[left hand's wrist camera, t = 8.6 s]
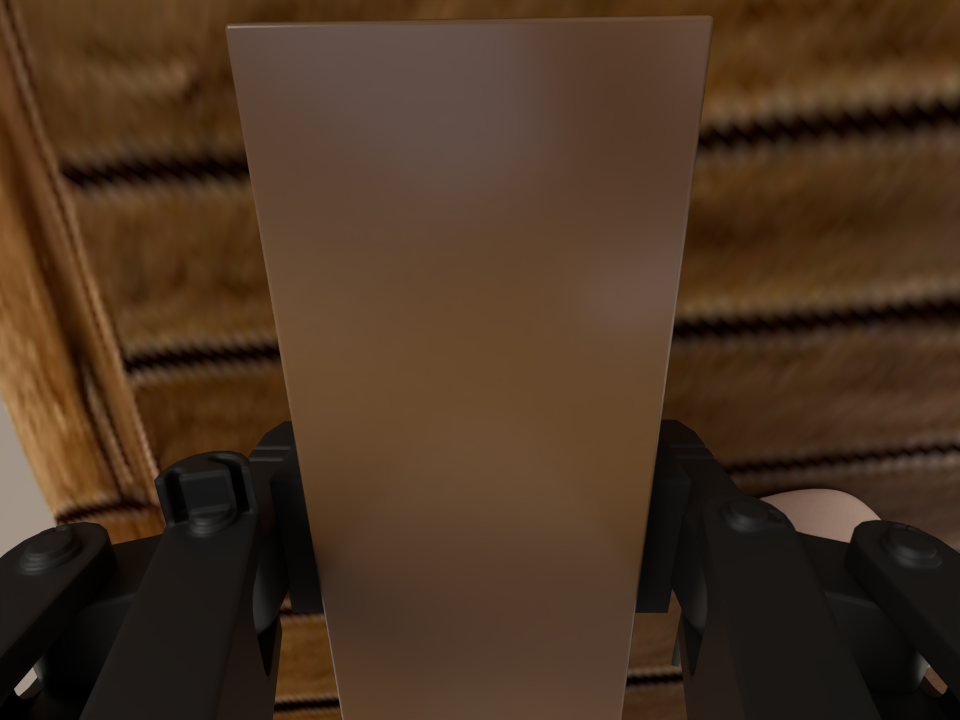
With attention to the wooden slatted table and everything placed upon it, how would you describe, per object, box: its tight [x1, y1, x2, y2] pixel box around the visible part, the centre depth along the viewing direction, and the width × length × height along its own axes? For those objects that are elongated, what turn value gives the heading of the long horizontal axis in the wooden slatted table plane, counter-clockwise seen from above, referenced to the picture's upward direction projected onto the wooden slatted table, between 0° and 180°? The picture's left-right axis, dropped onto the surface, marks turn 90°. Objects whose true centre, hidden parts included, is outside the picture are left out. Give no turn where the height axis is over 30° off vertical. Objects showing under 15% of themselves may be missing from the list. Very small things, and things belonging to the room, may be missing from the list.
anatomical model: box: [759, 489, 931, 668], centre depth 29 cm, size 13×4×12 cm
